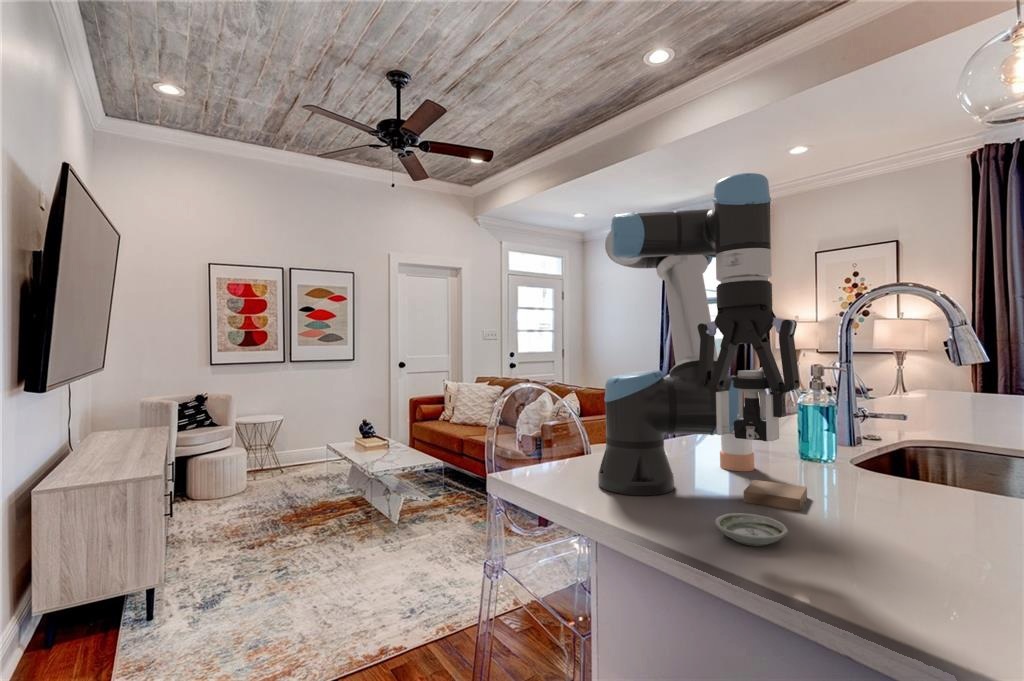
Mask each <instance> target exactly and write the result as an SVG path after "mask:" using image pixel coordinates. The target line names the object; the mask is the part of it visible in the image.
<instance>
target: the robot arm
mask: <svg viewBox="0 0 1024 681" xmlns="http://www.w3.org/2000/svg"><path fill="white" fill-rule="evenodd" d="M713 188H714V191H713V199H712V202H713V206H714V207H713V208H705V209H704V208H703V209H689V210H688V209H687V210H673V211H671V210H670V211H651V212H648V211H647V212H636V211H635V212H634V211H632V212H626V213H620V214H615V215H614V216H612V218H611V224H610V231H609V232H608V234H607V235H606V238H605V245H604V246H605V247H604V248H605V253H606V254H607V256H608V257H609V259H610V260H611V261H612V262H614V263H615V264H618V265H620V266H623V267H628V268H631V269H632V268H633V269H656V274H657V277H659V278H660V279H661V280H663V281H664V285H665V292H666V293H665V294H666V299H667V300H666V301H667V307H668V316H669V317H668V318H669V323H670V330H671V331H670V332H671V340H672V347H673V348H672V349H673V355H674V362H675V365H673V367H672V368H670V370H669V376H665V377H664V373H663V372H662V370H660V369H659V370H658V369H655V370H653V369H652V370H643V371H641V370H640V371H634V372H628V373H621V374H618V375H614V376H611V377H609V378H608V379H607V380H606V382H605V388H604V389H605V390H604V399H603V401H604V403H605V450H604V453H603V456H602V460H601V464H600V467H599V470H598V476H597V477H598V478H597V479H598V486H599V487H601V489H603V490H605V491H608V492H612V493H616V494H622V495H629V496H654V495H655V496H656V495H662V494H666V493H668V492H671V491H673V490H674V489H675V479H674V478H675V477H674V472H673V471H672V468H671V467H672V466H671V465H670V462H669V461H670V460H669V459H668V455H667V453H666V451H665V450H666V449H665V435H706V436H707V435H709V436H715V435H716V436H717V435H718V436H721V435H725V434H726V433H724V432H731V433H732V432H733V431H734V428H726V427H724V426H731V427H732V426H733V427H734V421H736V420H737V419H741V418H737V415H739V396H738V388H734V387H733V380H732V377H738V376H737V375H730V373H729V371H730V368H731V365H732V362H733V359H734V356H735V353H736V350H737V349H738V347H739V345H743V344H747V345H751V346H752V348H753V350H754V351H755V352H756V355H757V358H758V361H759V363H760V366H761V369H762V371H764V374H765V377H766V379H767V382H768V384H769V387H770V388H769V389H770V391H769V393H768V394H765V410H766V419H765V421H766V432H767V441H766V442H774V441H778V440H779V439H780V421H779V420H780V419H779V418H783V417H785V416H786V414H787V413H786V412H787V411H786V410H787V409H786V394H787V393H789V392H792V391H795V390H798V389H800V386H801V383H800V375H799V367H798V360H797V359H798V358H797V350H796V343H795V333H796V331H797V330H796V329H797V325H798V323H797V321H796V320H795V319H784V318H779V317H778V318H777V317H776V315H775V313H774V311H773V284H772V283H771V281H770V280H768V279H770V278H771V277H772V272H773V271H772V249H771V248H772V247H771V244H772V243H771V202H772V198H771V195H770V193H771V192H770V186H769V180H768V178H767V177H766V176H765V175H764V174H761V173H757V172H756V173H755V172H747V173H737V174H733V175H729V176H726V177H723V178H721V179H719V180H718V181H716V184H715V186H714V187H713ZM713 258H715V279H716V281H717V282H720V283H718V285H717V286H716V287H715V288H716V309H717V314H716V317H715V318H714V320H712V319H711V318H712V317H711V313H710V308H709V302H708V296H707V291H706V285H705V280H704V274H705V272H706V270H707V269H708V266H709V265H710V264H711V263H712V262H713ZM773 327H775V332H776V333H777V334H778V344H779V345H778V346H779V351H780V360H781V367H782V368H781V370H782V375H781V372H780V370H779V367H778V364H777V362H776V361H777V360H776V359H775V357H774V354H773V352H772V349H771V342H770V340H769V338H768V334H769V332H770V331H771V330H772V329H773ZM717 329H718V330H719V332H720V333H721V334H722V336H723V337H722V339H721V342H720V351H719V352H718V350H717V346H716V340H715V336H716V334H717ZM782 376H783V377H782Z"/></svg>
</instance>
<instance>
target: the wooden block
mask: <svg viewBox="0 0 1024 681" xmlns="http://www.w3.org/2000/svg"><path fill="white" fill-rule="evenodd" d="M807 499H808V486H804V485H796V484H789V483H781V482H773V481H767V480H765V481H764V480H758V479H753V480H752V482H750V483H749V485H748V486H747V487H746V488H745V489H744V490H743V503H747V504H753V505H754V504H755V505H759V506H766V507H772V508H778V509H784V510H791V511H792V510H793V511H797V512H798V511H799V512H801V511H802V508H803V507H804V504H805V503H806V501H807Z"/></svg>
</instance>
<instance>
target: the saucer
mask: <svg viewBox="0 0 1024 681" xmlns="http://www.w3.org/2000/svg"><path fill="white" fill-rule="evenodd" d="M714 524H715V526H716V527H717V529H719V531H721V532H722V533H723V534H724V535H725V536H726V537H728V538H730V539H732V540H733V541H735V542H737V543H739V544H743V545H747V546H751V547H752V546H753V547H760V546H761V547H763V546H767V545H769V544H774V543H776V542H778V541H779V540H781V539H783V538H784V537H786V535H787V534H788V528H787V526H785V524H783V523H782V522H780V521H778V520H776V519H775V518H771V517H768V516H764V515H762V514H761V515H759V514H754V513H746V512H745V513H744V512H743V513H742V512H737V513H736V512H732V513H725V514H722V515H720V516H717V517H716V519H715V521H714Z"/></svg>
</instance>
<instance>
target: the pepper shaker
mask: <svg viewBox="0 0 1024 681" xmlns="http://www.w3.org/2000/svg"><path fill="white" fill-rule="evenodd" d="M745 397H746V396H745V392H744V406H745ZM741 419H743V418H741ZM733 433H734V431H733ZM720 445H721V450H720V451H719V467H720V468H721V469H724V470H726V471H733V472H751V471H754V470H755V453H754V452H753V440H750V439H738V438H735V434H725V435H720Z"/></svg>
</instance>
